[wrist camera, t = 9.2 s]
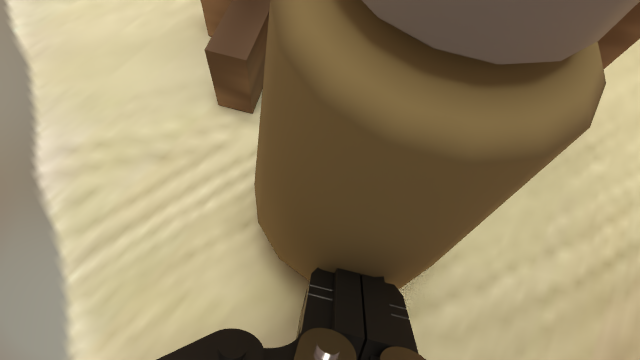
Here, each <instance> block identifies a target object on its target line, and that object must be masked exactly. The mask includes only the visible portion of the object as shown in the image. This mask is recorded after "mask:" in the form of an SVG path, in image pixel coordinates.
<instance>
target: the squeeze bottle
mask: <svg viewBox="0 0 640 360" xmlns="http://www.w3.org/2000/svg"><path fill="white" fill-rule="evenodd" d="M639 2H640V0H270V9H269V20H268V32H267V44H266V56H265V67H264V79H263V91H262V102H261V114H260V126H259V138H258V149H257V161H256V173H255V184H254V185H255V195H256V204H257V214H258V223H259V224H260V226H261V228H262V229H263V231H264V233H265V235H266V236H267V238H268V240H269V242H270V243H271V245H272V247H273V248H274V250H275V252H276V254H277V255H278V257H279V258H280V259H281V260H282V261H284V262H285V263H286V264H288V265H289V266H290V267H292V268H293V269H294V270H296V271H297V272H298V273H300V274H301V275H302V276H304V277H305V278H306V279H308V280H310V277H311V273H312V272H313V271H314V270H315V269H316V268H317V267H318V268H320V269H322V270H324V271H328V272H332V273H335V271H336V269H337V268H340V269H344V270H348V271H352V272H356V273H360V276H361V275H362V274H364V275H368V276H372V277H383V276H384V281H385V282H386V283H390V284H394V285H395V286H396V288H397V289H399V288H401V287H403V286H404V285H405V284H407V283H408V282H410V281H411V280H412V279H414V278H415V277H417V276H418V275H419V274H421V273H422V272H424V271H425V270H426V269H428V268H429V267H431V266H432V265H433V264H434V263H435V262H437V261H438V260H439V259H440V258H441V257H442V256H443V255H445V254H446V253H447V252H448V251H449V250H450V249H451V248H453V247H454V246H455V245H456V244H457V243H458V242H459V241H461V240H462V239H463V238H464V237H465V236H466V235H467V234H469V233H470V232H471V231H472V230H473V229H474V228H475V227H477V226H478V225H479V224H480V223H481V222H482V221H483V220H485V219H486V218H487V217H488V216H489V215H490V214H491V213H493V212H494V211H495V210H496V209H497V208H498V207H499V206H501V205H502V204H503V203H504V202H505V201H506V200H507V199H509V198H510V197H511V196H512V195H513V194H514V193H515V192H517V191H518V190H519V189H520V188H521V187H522V186H523V185H525V184H526V183H527V182H528V181H529V180H530V179H531V178H533V177H534V176H535V175H536V174H537V173H538V172H539V171H541V170H542V169H543V168H544V167H545V166H546V165H547V164H549V163H550V162H551V161H552V160H553V159H554V158H555V157H557V156H558V155H559V154H560V153H561V152H562V151H563V150H565V149H566V148H567V147H568V146H569V145H570V144H571V143H573V142H574V141H575V140H576V139H577V138H578V137H579V136H581V135H582V134H583V133H584V132H585V131H586V130H587V129H589V128H590V126H591V123H592V120H593V117H594V115H595V112H596V109H597V106H598V104H599V101H600V98H601V95H602V93H603V90H604V87H605V84H606V81H605V75H604V70H603V65H602V59H601V54H600V50H599V45H598V41H599V40H600V39H601V38H602V37H603V36H604V35H605V34H606V33H607V32H608V31H609V30H610V29H611V28H612V27H614V26H615V25H616V24H617V23H618V22H619V21H620V20H621V19H622V18H623V17H624V16H625V15H626V14H627V13H628V12H629V11H630V10H631V9H632V8H633V7H634V6H636V5H637V4H638V3H639Z"/></svg>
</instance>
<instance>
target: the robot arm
mask: <svg viewBox="0 0 640 360" xmlns="http://www.w3.org/2000/svg"><path fill="white" fill-rule="evenodd" d="M408 319H409V316H408V313H407V310H406V305H405V301H404V298H403V295H402V294H401V293H400V291H399V290H398V289H397V288H396V286H395V285H394V284H390V283H386V282H385V281H384V276H383V277H372V276H368V275H364V274H362V275H361V276H360V273H356V272H352V271H348V270H344V269H340V268H337V269H336V271H335V273H332V272H328V271H324V270H322V269H320V268H318V267H317V268H316V269H315V270H314V271H313V272H312V273H311V277H310V280H309V284H308V288H307V292H306V295H305V299H304V303H303V307H302V310H301V315H300V321H299V326H298V331H297V337H296V340H295V341H294V342H292V343H290V344H289V345H286V346H283V347H279V348H263V346H262V344H261V342H260V341H259V340H258V339H257V338H256V337H255V336H254V335H252V334H251V333H249V332H247V331H244V330H240V329H223V330H219V331H217V332H214V333H212V334H210V335H208V336H206V337H203V338H201V339H199V340H197V341H195V342H193V343H191V344H189V345H187V346H184V347H182V348H180V349H178V350H176V351H174V352H172V353H170V354H168V355H165V356H163V357H161V358H159V359H157V360H426V359H424V358H423V357H422V356H421V355H419V354H418V350H417V346H416V343H415V339H414V335H413V331H412V328H411V324H410V320H408Z"/></svg>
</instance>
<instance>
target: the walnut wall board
mask: <svg viewBox="0 0 640 360" xmlns="http://www.w3.org/2000/svg"><path fill="white" fill-rule="evenodd" d="M201 3H202V8H203V12H204V17H205V21H206V26H207V30H208V34H209V36H212V38H211V39H210V41H209V43H208V45H207V47H206V48H205V53H206V57H207V61H208V65H209V69H210V73H211V77H212V81H213V85H214V89H215V93H216V97H217V101H218V105H221V106H225V107H229V108H233V109H237V110H241V111H245V112H249V113H253V111H254V108H255V106H256V103H257V101H258V99H259V96H260V94H261V91H262V89H263V79H264V67H265V56H266V44H267V32H268V20H269V9H270V0H201ZM639 39H640V2H639V3H638V4H637V5H636V6H634V7H633V8H632V9H631V10H630V11H629V12H628V13H627V14H626V15H625V16H624V17H623V18H622V19H621V20H620V21H619V22H618V23H617V24H616V25H615V26H614V27H612V28H611V29H610V30H609V31H608V32H607V33H606V34H605V35H604V36H603V37H602V38H601V39H600V40H599V41H598V45H599V50H600V54H601V59H602V65H603V69H605V68H606V67H607V66H608V65H609V64H610V63H612V62H613V61H614V60H615V59H616V58H617V57H619V56H620V55H621V54H622V53H623V52H624V51H626V50H627V49H628V48H629V47H630V46H632V45H633V44H634V43H635V42H636V41H637V40H639Z"/></svg>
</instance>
